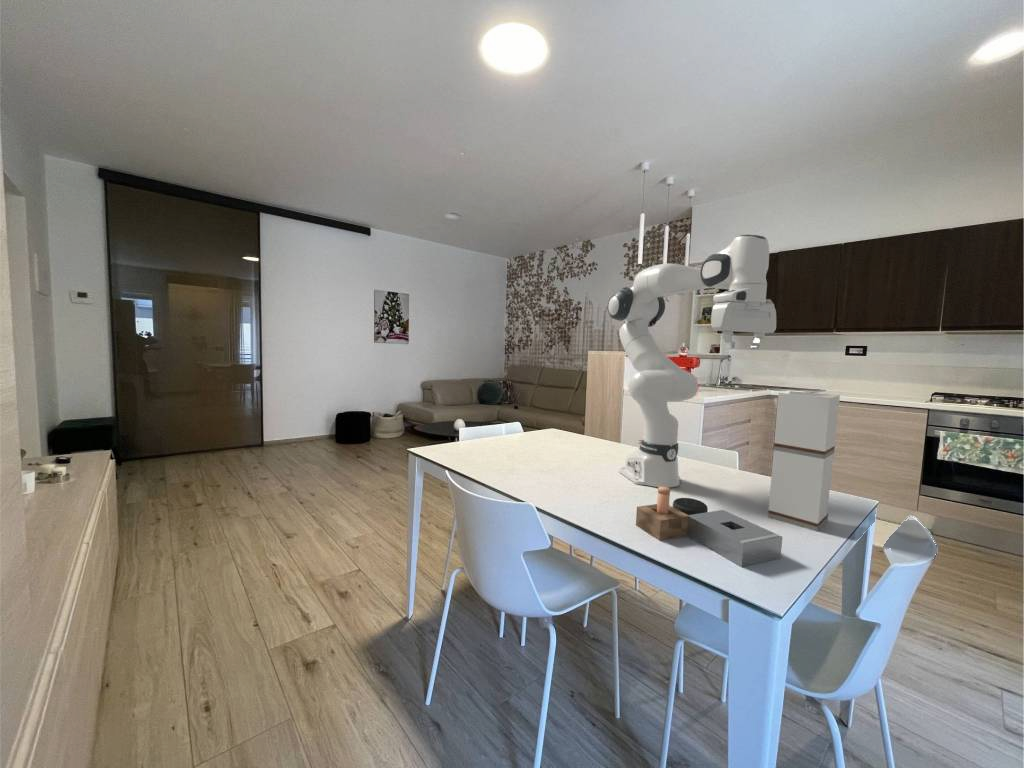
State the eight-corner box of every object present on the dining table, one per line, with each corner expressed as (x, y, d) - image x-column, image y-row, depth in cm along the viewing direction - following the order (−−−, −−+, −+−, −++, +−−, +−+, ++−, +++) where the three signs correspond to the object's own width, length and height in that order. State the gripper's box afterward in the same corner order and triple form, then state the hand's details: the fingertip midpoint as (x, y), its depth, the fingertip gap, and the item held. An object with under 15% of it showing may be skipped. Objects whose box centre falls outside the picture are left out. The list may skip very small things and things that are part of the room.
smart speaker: (689, 508, 121) (690, 495, 121) (714, 520, 113) (715, 506, 113) (665, 512, 118) (666, 498, 118) (689, 525, 110) (690, 510, 109)
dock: (685, 534, 103) (686, 514, 103) (721, 528, 108) (723, 509, 107) (741, 567, 89) (743, 543, 88) (780, 558, 93) (782, 535, 92)
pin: (653, 528, 107) (655, 487, 106) (662, 527, 108) (664, 486, 107) (660, 533, 104) (663, 490, 103) (669, 531, 105) (672, 489, 104)
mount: (635, 525, 108) (636, 506, 108) (663, 520, 112) (664, 502, 111) (659, 540, 100) (660, 520, 100) (688, 535, 103) (689, 516, 103)
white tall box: (827, 520, 115) (839, 395, 111) (817, 531, 108) (830, 397, 104) (780, 508, 123) (790, 391, 120) (767, 517, 116) (778, 393, 113)
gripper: (763, 300, 117) (759, 349, 118) (708, 295, 110) (704, 348, 111) (785, 298, 111) (780, 350, 112) (728, 293, 104) (724, 348, 105)
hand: (742, 349), depth 112 cm, fingers open, 8 cm apart
